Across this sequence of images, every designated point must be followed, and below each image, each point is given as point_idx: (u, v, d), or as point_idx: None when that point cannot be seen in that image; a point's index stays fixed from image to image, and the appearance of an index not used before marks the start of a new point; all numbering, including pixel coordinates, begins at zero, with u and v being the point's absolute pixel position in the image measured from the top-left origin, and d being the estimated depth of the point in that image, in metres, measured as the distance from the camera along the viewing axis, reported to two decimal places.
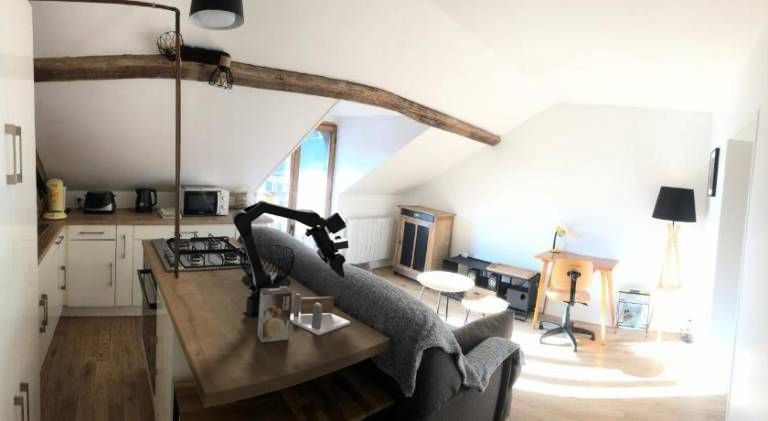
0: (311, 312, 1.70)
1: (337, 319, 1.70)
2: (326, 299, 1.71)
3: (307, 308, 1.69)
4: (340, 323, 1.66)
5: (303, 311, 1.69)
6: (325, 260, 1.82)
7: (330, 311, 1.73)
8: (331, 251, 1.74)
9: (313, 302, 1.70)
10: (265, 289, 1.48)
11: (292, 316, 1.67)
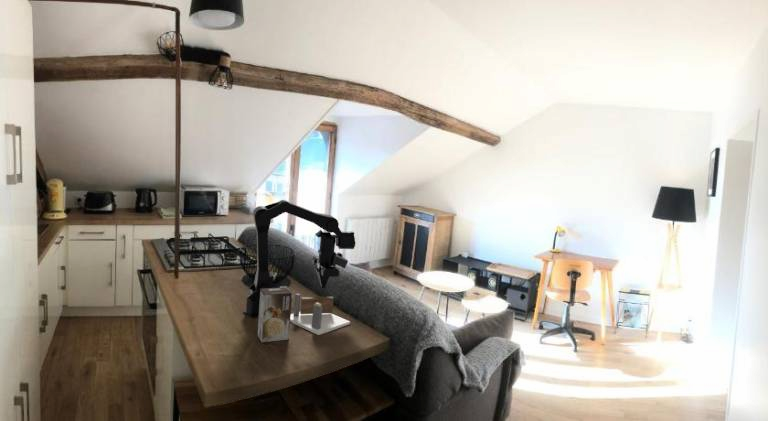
0: (311, 312, 1.70)
1: (337, 319, 1.70)
2: (326, 299, 1.71)
3: (307, 308, 1.69)
4: (340, 323, 1.66)
5: (303, 311, 1.69)
6: None
7: (330, 311, 1.73)
8: (329, 262, 1.73)
9: (313, 302, 1.70)
10: (265, 289, 1.48)
11: (292, 316, 1.67)
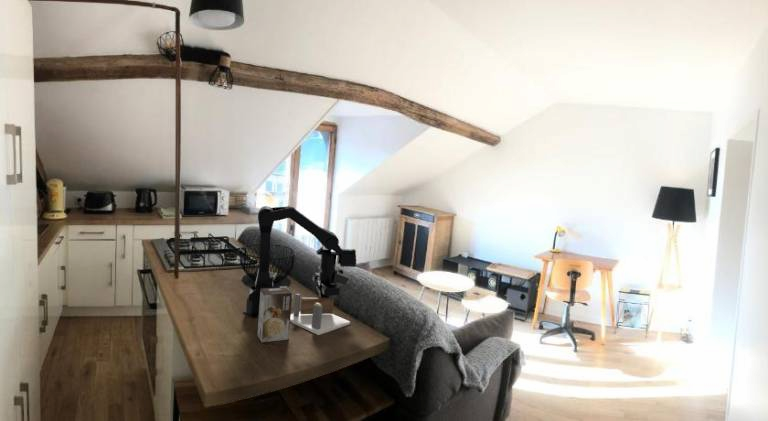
0: (311, 312, 1.70)
1: (337, 319, 1.70)
2: (326, 299, 1.71)
3: (307, 308, 1.69)
4: (340, 323, 1.66)
5: (303, 312, 1.69)
6: None
7: (330, 312, 1.72)
8: (330, 280, 1.71)
9: (313, 302, 1.70)
10: (265, 289, 1.48)
11: (292, 316, 1.67)
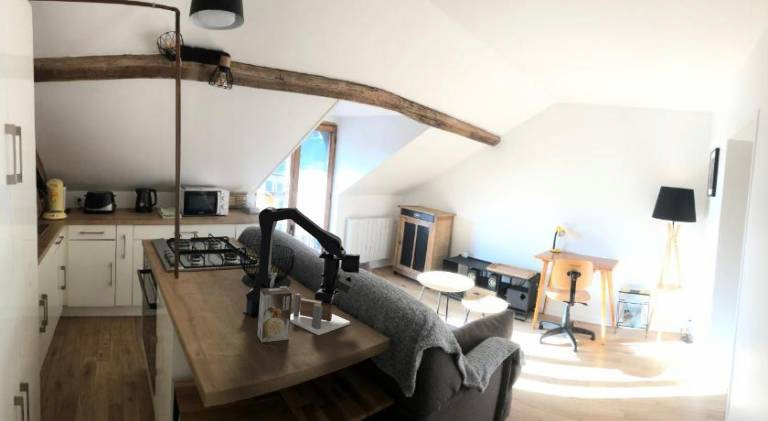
0: (309, 315, 1.67)
1: (337, 319, 1.70)
2: (324, 305, 1.65)
3: (305, 310, 1.67)
4: (340, 323, 1.66)
5: (302, 313, 1.67)
6: None
7: (328, 319, 1.65)
8: (329, 285, 1.65)
9: (311, 305, 1.66)
10: (265, 289, 1.48)
11: (292, 316, 1.67)
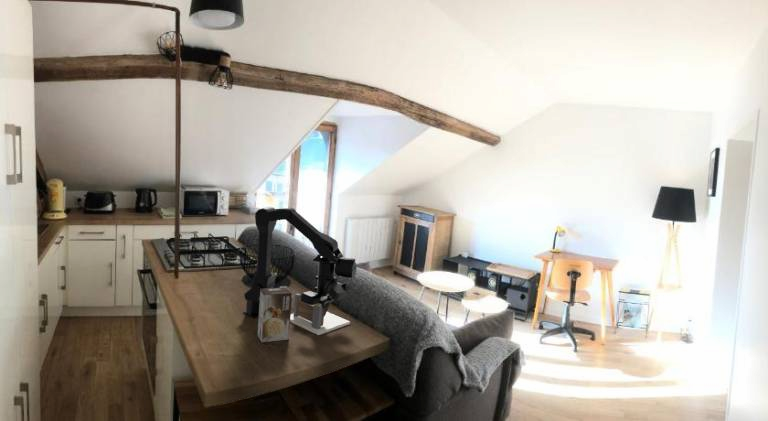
0: (305, 317, 1.65)
1: (337, 319, 1.70)
2: None
3: (302, 311, 1.65)
4: (340, 323, 1.66)
5: (299, 314, 1.66)
6: None
7: None
8: (321, 289, 1.60)
9: (306, 307, 1.64)
10: (265, 289, 1.48)
11: (292, 316, 1.67)
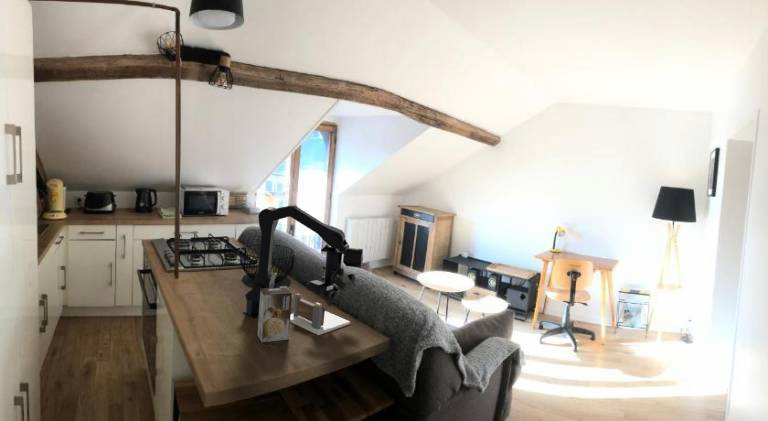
0: (305, 317, 1.65)
1: (337, 319, 1.70)
2: None
3: (302, 311, 1.65)
4: (340, 323, 1.66)
5: (299, 314, 1.66)
6: None
7: None
8: (328, 278, 1.62)
9: (306, 307, 1.64)
10: (265, 289, 1.48)
11: (292, 316, 1.67)
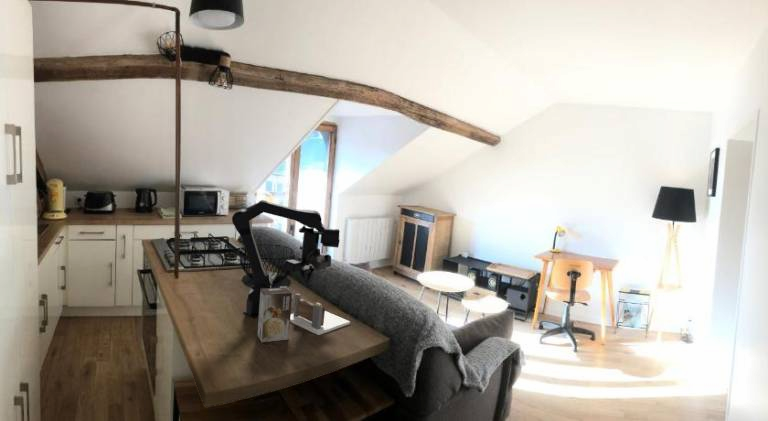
0: (305, 317, 1.65)
1: (337, 319, 1.70)
2: None
3: (302, 311, 1.65)
4: (340, 323, 1.66)
5: (299, 314, 1.66)
6: None
7: None
8: (304, 258, 1.67)
9: (306, 307, 1.64)
10: (265, 289, 1.48)
11: (292, 316, 1.67)
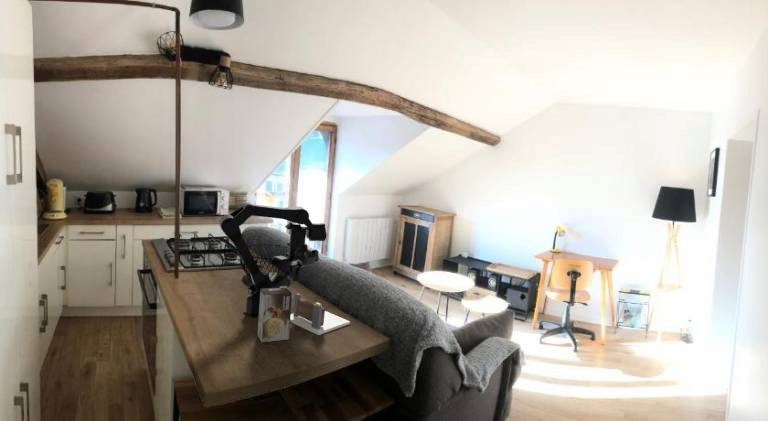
0: (305, 317, 1.65)
1: (337, 319, 1.70)
2: None
3: (302, 311, 1.65)
4: (340, 323, 1.66)
5: (299, 314, 1.66)
6: None
7: None
8: (291, 254, 1.69)
9: (306, 307, 1.64)
10: (265, 289, 1.48)
11: (292, 316, 1.67)
